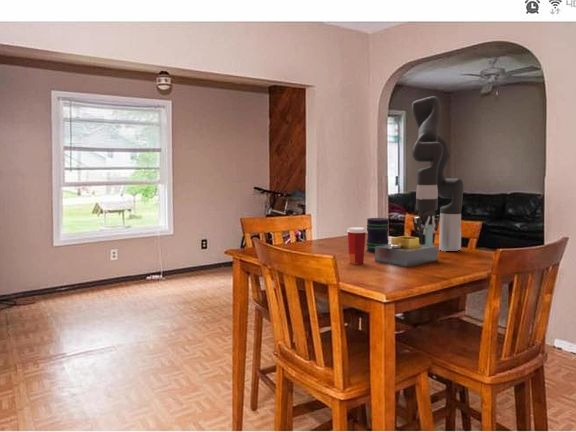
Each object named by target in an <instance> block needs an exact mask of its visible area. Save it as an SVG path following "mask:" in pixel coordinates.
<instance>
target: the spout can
mask: <svg viewBox="0 0 576 432" xmlns="http://www.w3.org/2000/svg"><path fill="white" fill-rule="evenodd" d="M421 226H424V225H422V224H421ZM422 231H423V228H422ZM432 239H433V240H434V238H433V225H432V224H431V225H428V228H427V229H426V232H425V245H420V246H421V247H432V246H433V243H432Z"/></svg>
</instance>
